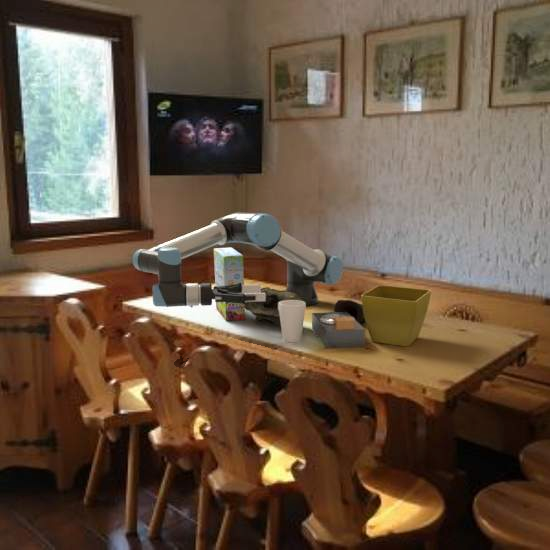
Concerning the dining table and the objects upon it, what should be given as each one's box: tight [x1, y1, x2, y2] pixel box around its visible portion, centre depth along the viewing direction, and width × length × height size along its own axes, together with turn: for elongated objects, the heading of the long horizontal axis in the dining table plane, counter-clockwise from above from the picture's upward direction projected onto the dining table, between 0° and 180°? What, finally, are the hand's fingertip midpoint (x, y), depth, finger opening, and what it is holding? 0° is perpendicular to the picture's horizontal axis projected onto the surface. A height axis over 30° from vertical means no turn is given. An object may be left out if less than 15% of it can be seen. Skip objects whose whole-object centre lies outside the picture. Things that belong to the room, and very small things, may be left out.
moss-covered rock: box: [245, 286, 303, 326], centre depth 233 cm, size 28×13×15 cm
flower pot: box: [360, 284, 432, 347], centre depth 210 cm, size 19×19×17 cm
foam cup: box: [278, 300, 307, 343], centre depth 211 cm, size 10×9×13 cm
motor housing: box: [311, 311, 366, 349], centre depth 214 cm, size 24×13×9 cm, turn 8°
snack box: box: [213, 247, 246, 322], centre depth 246 cm, size 22×9×26 cm, turn 16°
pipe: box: [333, 299, 366, 324], centre depth 237 cm, size 10×15×15 cm
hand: (263, 292), depth 208 cm, fingers open, 13 cm apart
